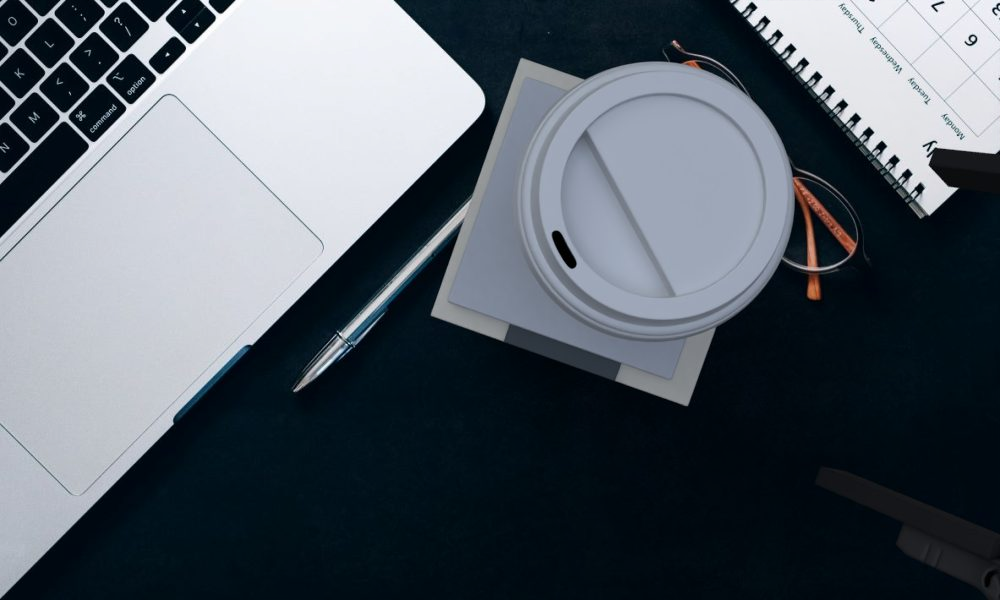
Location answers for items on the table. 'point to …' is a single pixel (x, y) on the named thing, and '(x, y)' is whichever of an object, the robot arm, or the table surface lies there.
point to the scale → (512, 287)
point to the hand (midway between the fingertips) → (884, 322)
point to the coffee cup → (653, 201)
